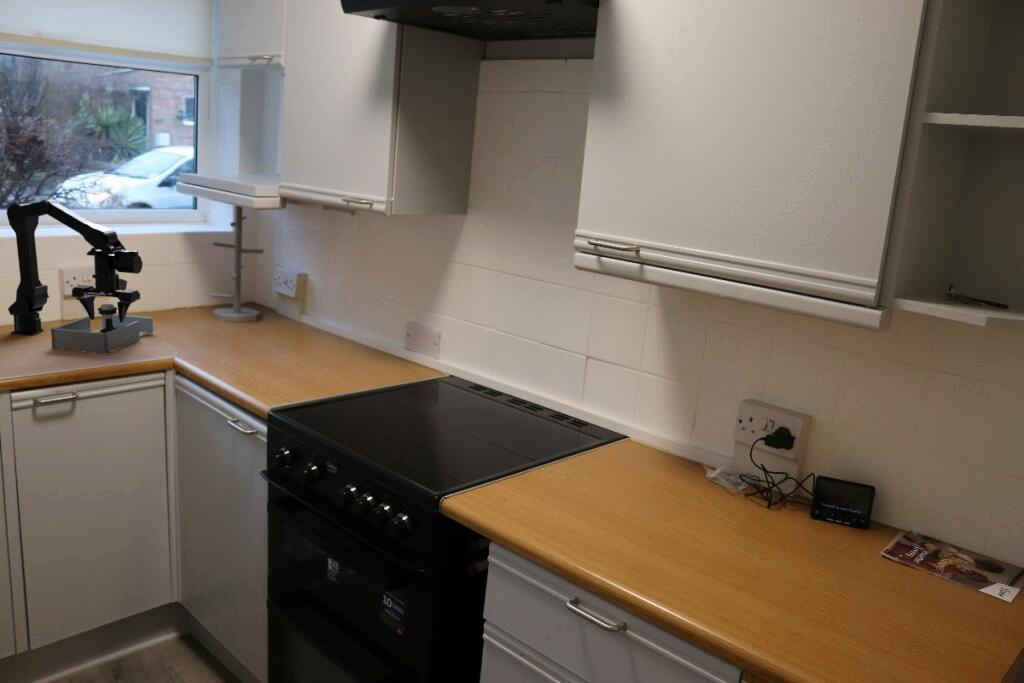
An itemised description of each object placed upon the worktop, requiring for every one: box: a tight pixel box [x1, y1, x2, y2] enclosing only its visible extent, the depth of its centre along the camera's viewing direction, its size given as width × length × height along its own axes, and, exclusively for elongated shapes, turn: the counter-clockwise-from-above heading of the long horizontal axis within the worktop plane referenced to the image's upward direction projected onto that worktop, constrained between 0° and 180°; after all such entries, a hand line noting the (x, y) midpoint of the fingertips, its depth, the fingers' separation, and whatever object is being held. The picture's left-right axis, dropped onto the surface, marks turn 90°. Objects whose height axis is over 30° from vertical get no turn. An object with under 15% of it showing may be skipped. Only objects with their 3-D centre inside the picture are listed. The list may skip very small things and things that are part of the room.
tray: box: [93, 313, 154, 338], centre depth 252 cm, size 18×16×5 cm
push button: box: [97, 303, 118, 333], centre depth 248 cm, size 7×5×10 cm
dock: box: [50, 315, 141, 354], centre depth 244 cm, size 18×17×6 cm
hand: (107, 321), depth 248 cm, fingers open, 9 cm apart
